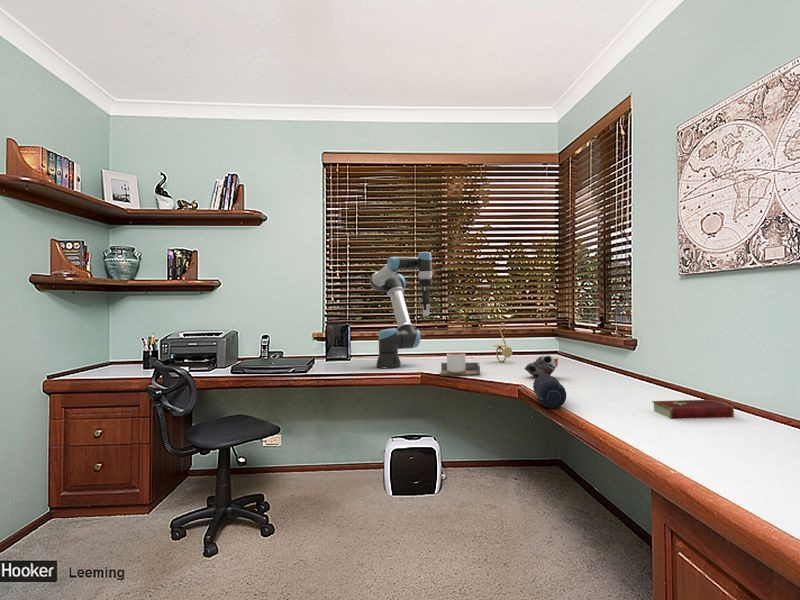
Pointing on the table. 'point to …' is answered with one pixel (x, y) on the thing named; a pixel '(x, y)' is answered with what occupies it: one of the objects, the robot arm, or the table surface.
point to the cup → (456, 362)
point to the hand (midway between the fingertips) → (426, 315)
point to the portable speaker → (549, 391)
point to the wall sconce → (507, 350)
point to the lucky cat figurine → (542, 366)
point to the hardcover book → (693, 409)
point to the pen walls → (468, 366)
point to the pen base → (467, 372)
